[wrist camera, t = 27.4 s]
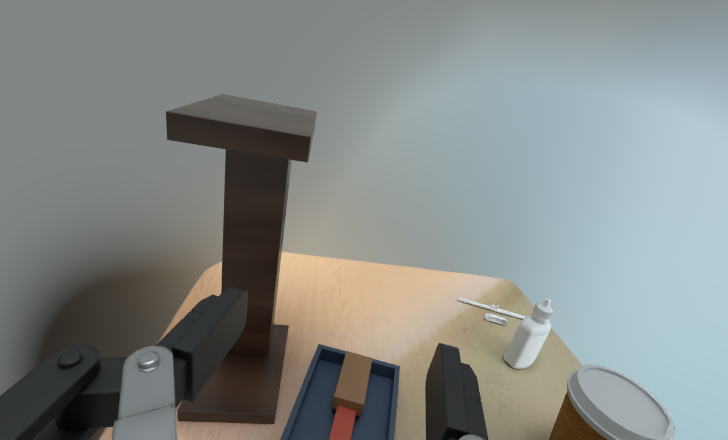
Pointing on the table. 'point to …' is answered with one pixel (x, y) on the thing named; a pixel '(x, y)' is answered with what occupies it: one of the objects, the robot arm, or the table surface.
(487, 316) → the picture light
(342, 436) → the brush
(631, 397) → the disposable coffee cup
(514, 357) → the eye dropper bottle
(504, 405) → the table surface
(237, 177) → the shelf stand
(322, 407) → the tray
